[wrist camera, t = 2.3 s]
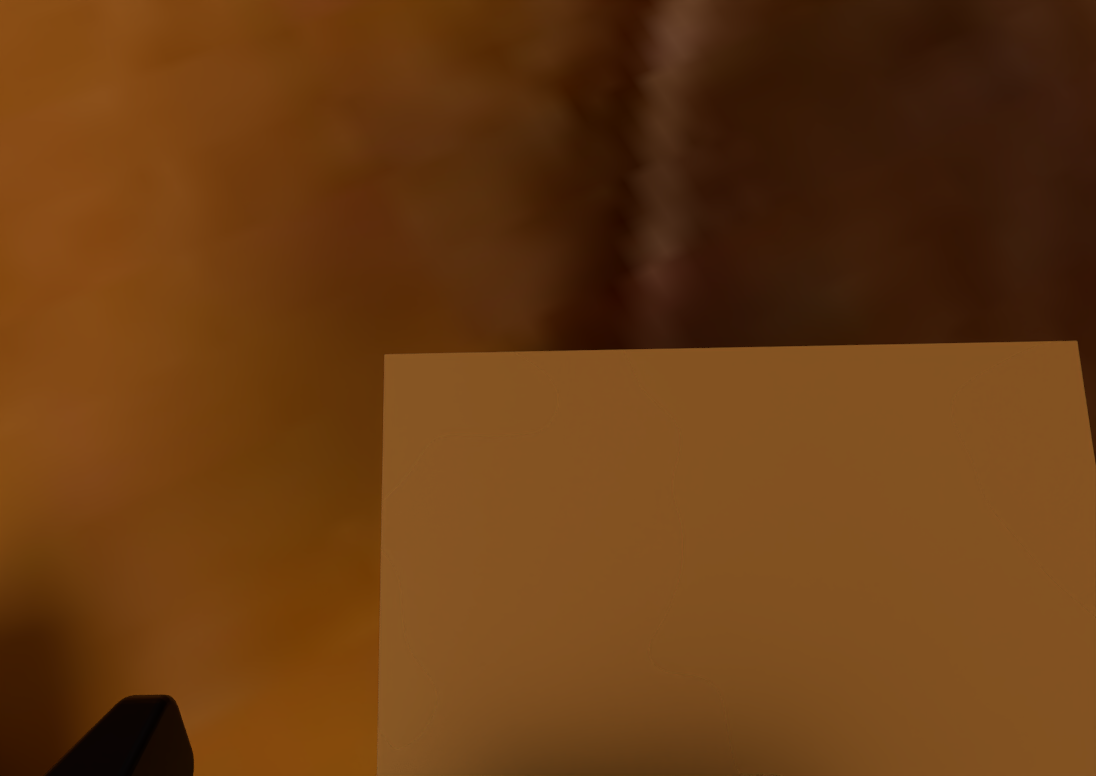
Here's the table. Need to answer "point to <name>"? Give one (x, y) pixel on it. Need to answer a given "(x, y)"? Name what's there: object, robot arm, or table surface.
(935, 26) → the table surface
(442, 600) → the grey square peg
